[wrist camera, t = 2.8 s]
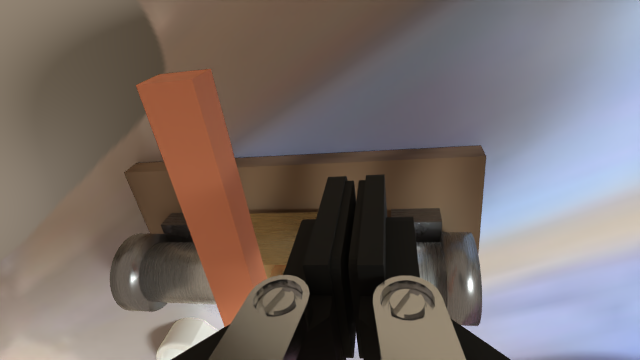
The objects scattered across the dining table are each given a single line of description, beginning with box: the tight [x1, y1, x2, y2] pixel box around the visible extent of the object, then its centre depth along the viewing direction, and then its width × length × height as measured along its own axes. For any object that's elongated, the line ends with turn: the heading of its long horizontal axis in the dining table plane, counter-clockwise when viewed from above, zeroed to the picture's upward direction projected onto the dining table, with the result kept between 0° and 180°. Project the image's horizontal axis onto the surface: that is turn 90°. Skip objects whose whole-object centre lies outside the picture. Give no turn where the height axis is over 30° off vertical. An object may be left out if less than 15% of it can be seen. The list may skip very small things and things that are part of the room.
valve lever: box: [136, 69, 267, 327], centre depth 16 cm, size 3×15×1 cm, turn 8°
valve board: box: [124, 145, 486, 252], centre depth 28 cm, size 24×12×2 cm, turn 98°
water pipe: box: [110, 208, 482, 326], centre depth 23 cm, size 22×6×8 cm, turn 98°
